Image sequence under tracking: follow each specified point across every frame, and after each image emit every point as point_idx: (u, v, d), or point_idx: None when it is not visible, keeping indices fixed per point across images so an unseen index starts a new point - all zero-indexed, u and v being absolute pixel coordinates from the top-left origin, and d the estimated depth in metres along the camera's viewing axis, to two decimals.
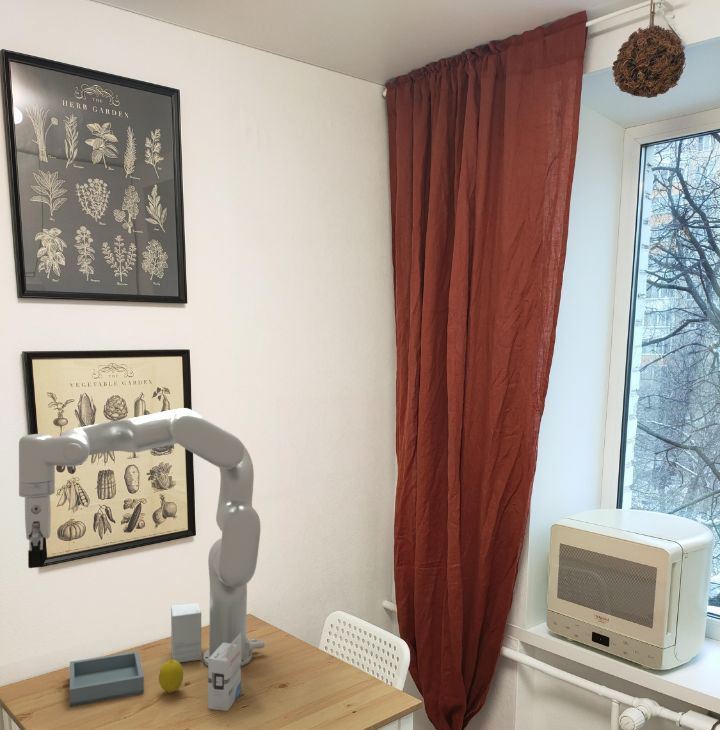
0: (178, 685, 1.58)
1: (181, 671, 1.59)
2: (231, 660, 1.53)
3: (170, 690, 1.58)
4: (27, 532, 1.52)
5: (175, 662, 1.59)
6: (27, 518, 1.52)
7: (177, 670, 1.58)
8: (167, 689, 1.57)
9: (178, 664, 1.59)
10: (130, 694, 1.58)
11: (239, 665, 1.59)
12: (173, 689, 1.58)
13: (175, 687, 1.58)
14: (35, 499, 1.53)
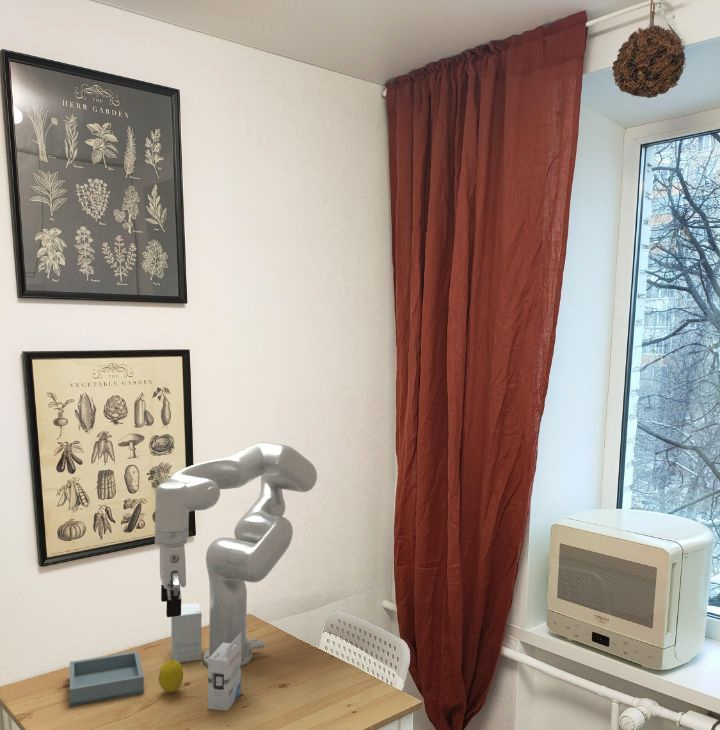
0: (178, 685, 1.58)
1: (181, 671, 1.59)
2: (231, 659, 1.54)
3: (170, 690, 1.58)
4: (166, 581, 1.53)
5: (175, 662, 1.59)
6: (166, 567, 1.53)
7: (177, 670, 1.58)
8: (167, 689, 1.57)
9: (178, 664, 1.59)
10: (130, 694, 1.58)
11: (239, 665, 1.59)
12: (173, 689, 1.58)
13: (175, 687, 1.58)
14: (173, 548, 1.54)
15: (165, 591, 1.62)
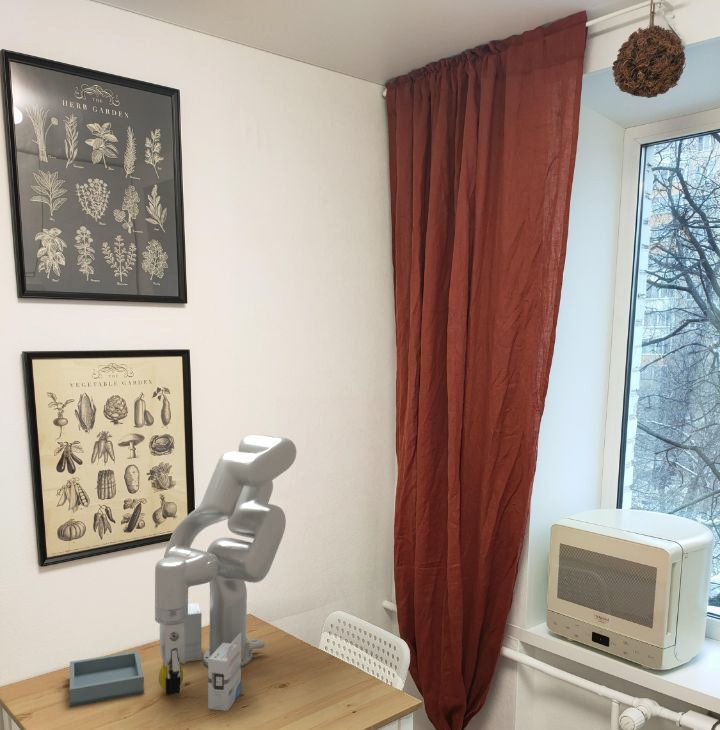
0: None
1: (181, 671, 1.59)
2: (231, 660, 1.53)
3: None
4: (166, 659, 1.54)
5: None
6: (166, 645, 1.54)
7: None
8: None
9: None
10: (130, 694, 1.58)
11: (239, 665, 1.59)
12: None
13: None
14: (173, 626, 1.55)
15: None
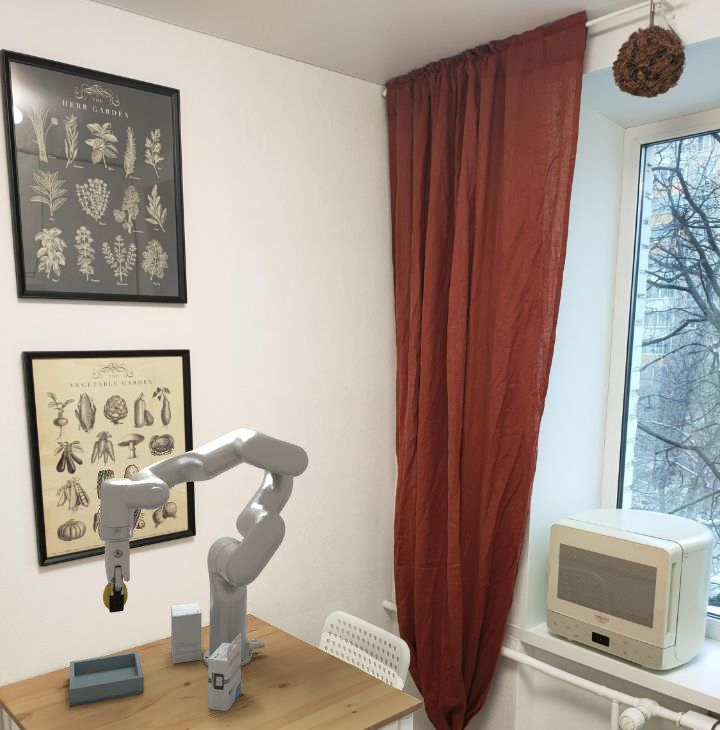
0: None
1: (125, 590, 1.60)
2: (231, 659, 1.54)
3: None
4: (109, 576, 1.55)
5: None
6: (109, 562, 1.55)
7: None
8: None
9: None
10: (130, 694, 1.58)
11: (239, 665, 1.59)
12: None
13: None
14: (117, 543, 1.56)
15: None
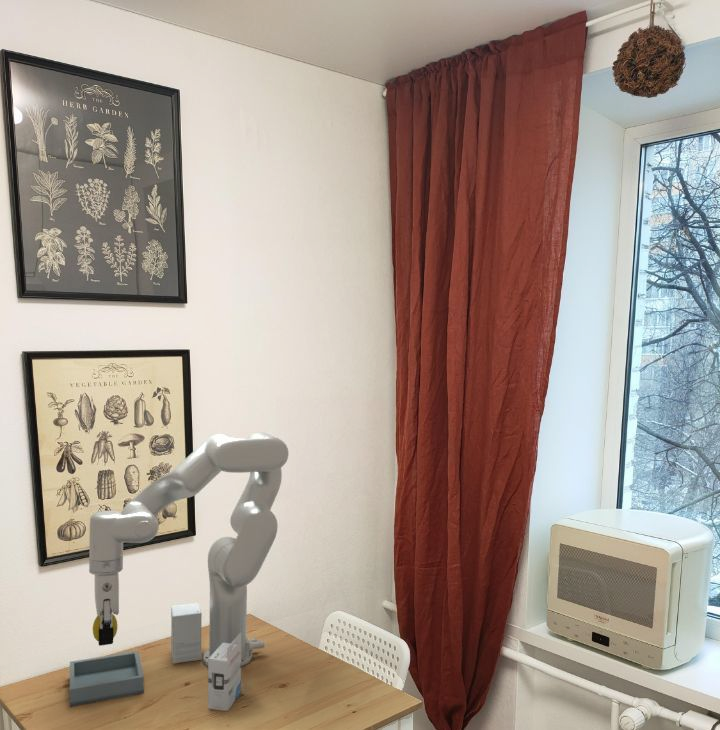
0: None
1: (115, 623, 1.61)
2: (231, 660, 1.53)
3: None
4: (98, 609, 1.56)
5: None
6: (98, 596, 1.56)
7: None
8: None
9: None
10: (130, 694, 1.58)
11: (239, 665, 1.59)
12: None
13: None
14: (106, 577, 1.57)
15: None
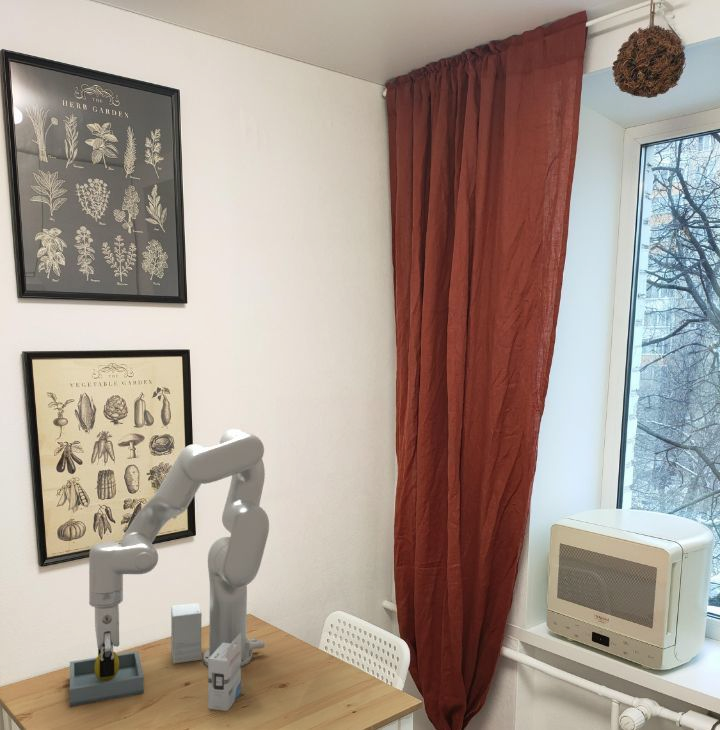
0: (113, 675, 1.61)
1: (117, 661, 1.62)
2: (231, 659, 1.54)
3: (105, 680, 1.60)
4: (99, 642, 1.57)
5: None
6: (99, 628, 1.57)
7: None
8: (102, 679, 1.60)
9: (114, 654, 1.62)
10: (130, 694, 1.58)
11: (239, 665, 1.59)
12: (108, 679, 1.60)
13: (110, 677, 1.60)
14: (106, 609, 1.58)
15: None
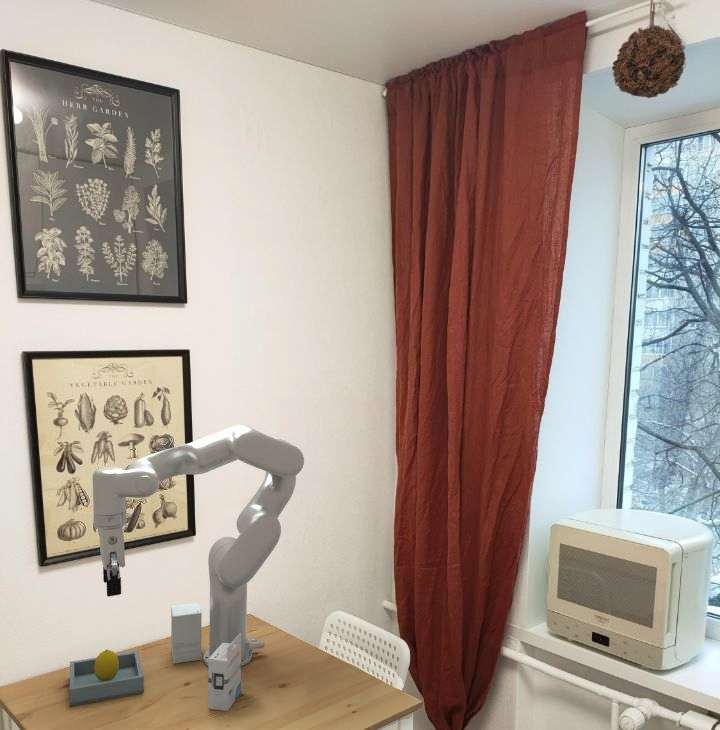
0: (113, 675, 1.61)
1: (116, 661, 1.62)
2: (231, 659, 1.54)
3: (105, 680, 1.60)
4: (105, 562, 1.59)
5: (110, 652, 1.62)
6: (104, 549, 1.59)
7: (112, 661, 1.60)
8: (102, 679, 1.60)
9: (113, 654, 1.62)
10: (130, 694, 1.58)
11: (239, 665, 1.59)
12: (108, 679, 1.60)
13: (110, 677, 1.60)
14: (111, 530, 1.60)
15: (107, 572, 1.68)
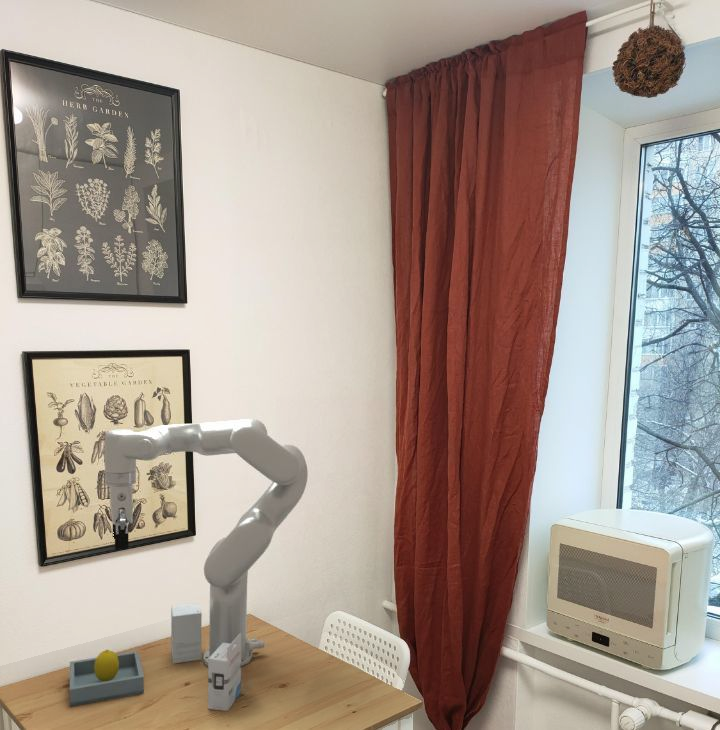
0: (113, 675, 1.61)
1: (116, 661, 1.62)
2: (231, 659, 1.54)
3: (105, 680, 1.60)
4: (114, 517, 1.69)
5: (110, 652, 1.62)
6: (114, 505, 1.69)
7: (112, 661, 1.60)
8: (102, 679, 1.60)
9: (113, 654, 1.62)
10: (130, 694, 1.58)
11: (239, 665, 1.59)
12: (108, 679, 1.60)
13: (109, 677, 1.60)
14: (120, 488, 1.70)
15: (116, 529, 1.78)
